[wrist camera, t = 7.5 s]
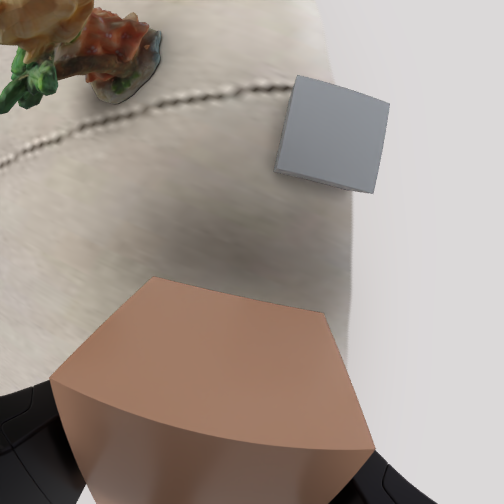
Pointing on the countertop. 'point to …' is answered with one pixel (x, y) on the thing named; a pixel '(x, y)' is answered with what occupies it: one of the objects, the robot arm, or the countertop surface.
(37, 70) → the figurine
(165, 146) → the countertop surface
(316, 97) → the slate cube
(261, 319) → the terracotta cube
